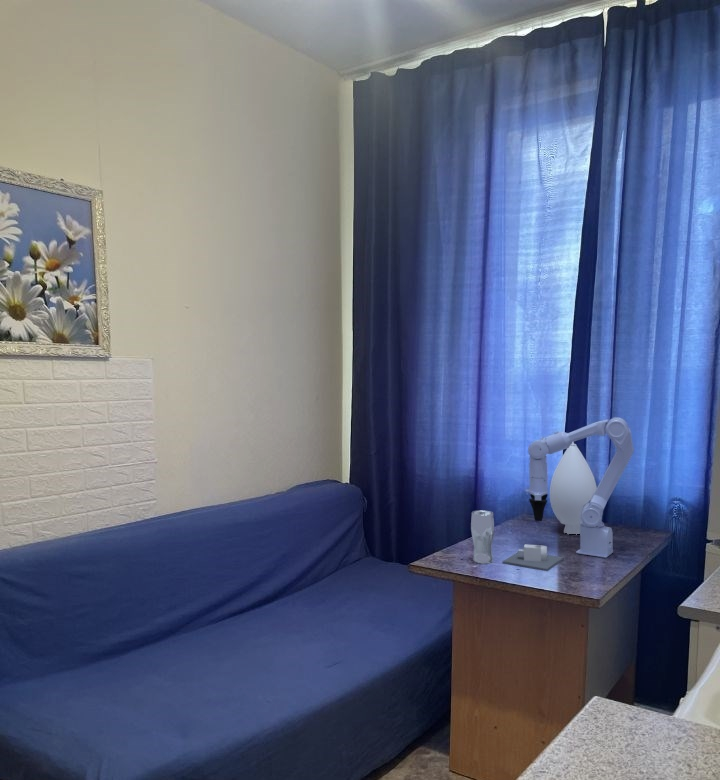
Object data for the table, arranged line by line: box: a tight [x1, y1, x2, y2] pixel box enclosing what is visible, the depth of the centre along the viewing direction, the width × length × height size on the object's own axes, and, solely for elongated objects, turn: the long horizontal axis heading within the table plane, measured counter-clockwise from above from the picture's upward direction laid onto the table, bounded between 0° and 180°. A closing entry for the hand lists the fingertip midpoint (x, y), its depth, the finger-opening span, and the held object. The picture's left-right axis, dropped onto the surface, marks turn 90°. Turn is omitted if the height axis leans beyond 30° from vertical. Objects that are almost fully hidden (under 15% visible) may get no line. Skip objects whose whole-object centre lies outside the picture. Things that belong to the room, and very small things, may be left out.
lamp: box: [549, 441, 598, 536], centre depth 230 cm, size 16×16×35 cm
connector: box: [517, 543, 548, 562], centre depth 197 cm, size 8×4×4 cm, turn 73°
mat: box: [501, 551, 565, 572], centre depth 197 cm, size 14×14×1 cm
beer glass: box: [470, 509, 495, 565], centre depth 198 cm, size 7×7×15 cm
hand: (538, 518), depth 211 cm, fingers open, 7 cm apart
